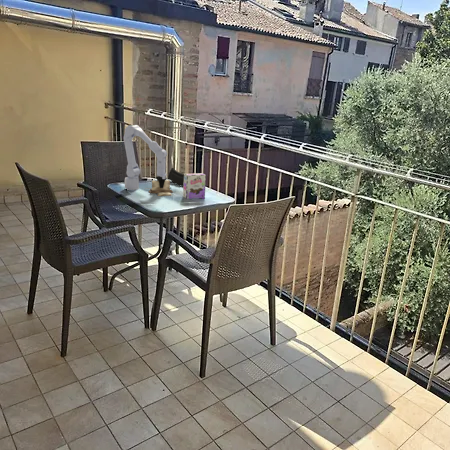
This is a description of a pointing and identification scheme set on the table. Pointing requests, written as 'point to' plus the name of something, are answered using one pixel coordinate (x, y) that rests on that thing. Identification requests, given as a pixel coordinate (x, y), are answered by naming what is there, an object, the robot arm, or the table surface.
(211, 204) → the table surface
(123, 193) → the table surface
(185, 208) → the table surface
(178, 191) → the table surface
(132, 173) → the robot arm
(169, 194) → the offcut top
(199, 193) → the candy box
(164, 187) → the wooden block
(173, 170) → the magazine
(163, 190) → the frame
